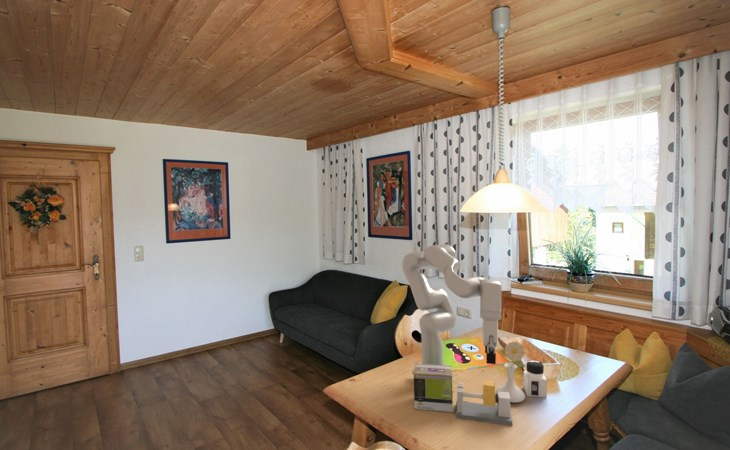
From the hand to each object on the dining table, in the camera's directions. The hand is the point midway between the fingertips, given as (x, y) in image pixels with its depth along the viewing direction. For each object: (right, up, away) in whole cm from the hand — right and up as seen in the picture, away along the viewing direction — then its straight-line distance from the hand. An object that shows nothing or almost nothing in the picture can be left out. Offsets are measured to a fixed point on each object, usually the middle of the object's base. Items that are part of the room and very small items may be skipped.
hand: (490, 358), depth 142 cm
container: (+25, -21, +18) cm, 37 cm away
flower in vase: (+13, -22, +13) cm, 28 cm away
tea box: (-20, -22, +9) cm, 31 cm away
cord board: (-2, -22, +2) cm, 22 cm away
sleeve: (0, -17, +1) cm, 17 cm away
